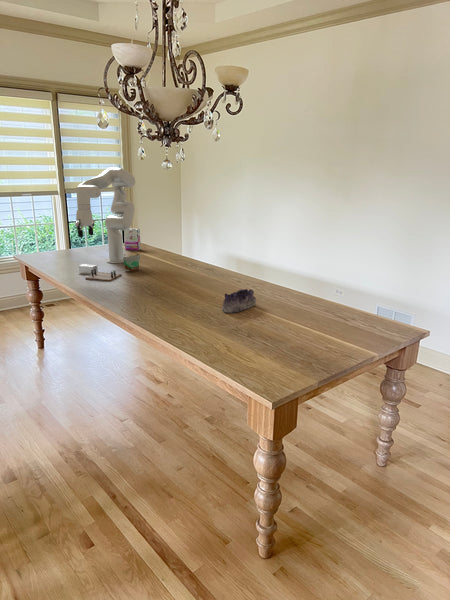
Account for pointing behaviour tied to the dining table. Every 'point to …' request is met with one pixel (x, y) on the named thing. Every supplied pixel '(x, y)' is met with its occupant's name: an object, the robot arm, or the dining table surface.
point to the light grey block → (87, 268)
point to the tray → (103, 277)
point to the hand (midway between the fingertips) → (85, 235)
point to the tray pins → (111, 272)
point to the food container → (131, 263)
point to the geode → (238, 301)
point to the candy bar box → (132, 239)
